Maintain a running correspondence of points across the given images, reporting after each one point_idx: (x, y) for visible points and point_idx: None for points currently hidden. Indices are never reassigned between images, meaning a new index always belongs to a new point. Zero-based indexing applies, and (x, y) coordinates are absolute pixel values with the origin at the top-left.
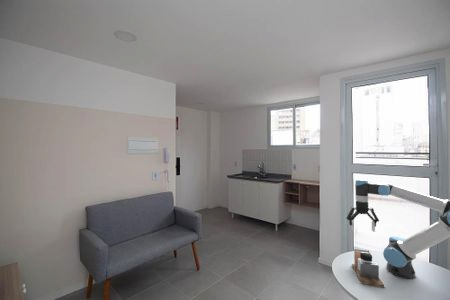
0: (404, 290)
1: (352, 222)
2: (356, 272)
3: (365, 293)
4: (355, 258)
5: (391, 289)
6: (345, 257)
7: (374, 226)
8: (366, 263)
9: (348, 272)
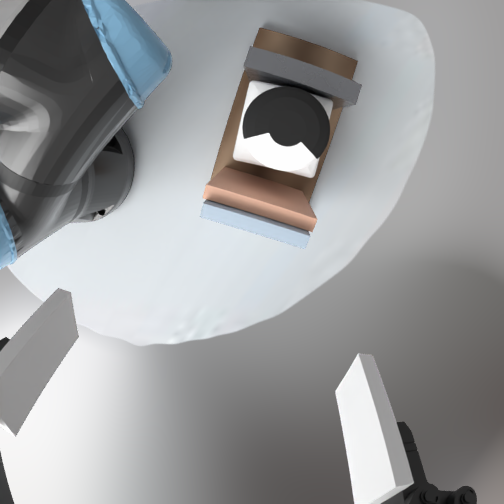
0: (178, 21)
1: (403, 464)
2: (331, 138)
3: (377, 13)
4: (306, 202)
5: (234, 22)
6: (279, 294)
7: (14, 338)
8: (322, 75)
9: (360, 157)
